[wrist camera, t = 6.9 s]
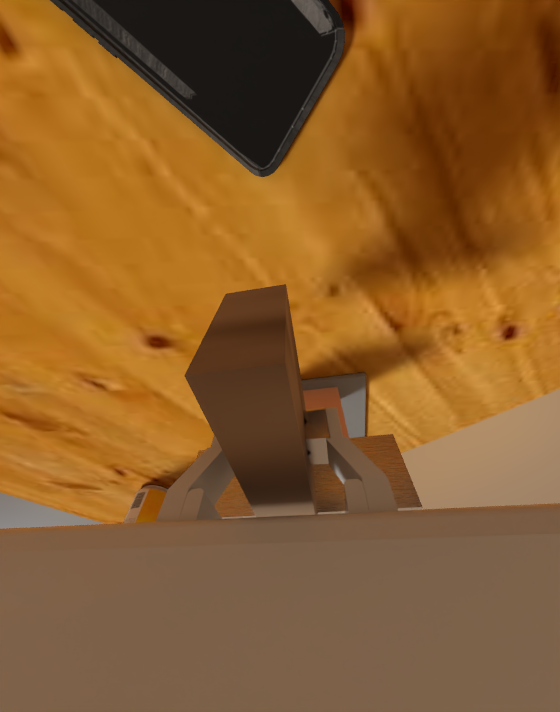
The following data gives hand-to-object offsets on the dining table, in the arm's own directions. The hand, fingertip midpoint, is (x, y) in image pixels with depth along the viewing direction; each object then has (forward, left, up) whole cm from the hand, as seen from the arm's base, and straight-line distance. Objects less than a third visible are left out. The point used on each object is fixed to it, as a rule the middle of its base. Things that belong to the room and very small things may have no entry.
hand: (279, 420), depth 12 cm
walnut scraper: (0, 0, -2) cm, 2 cm away
